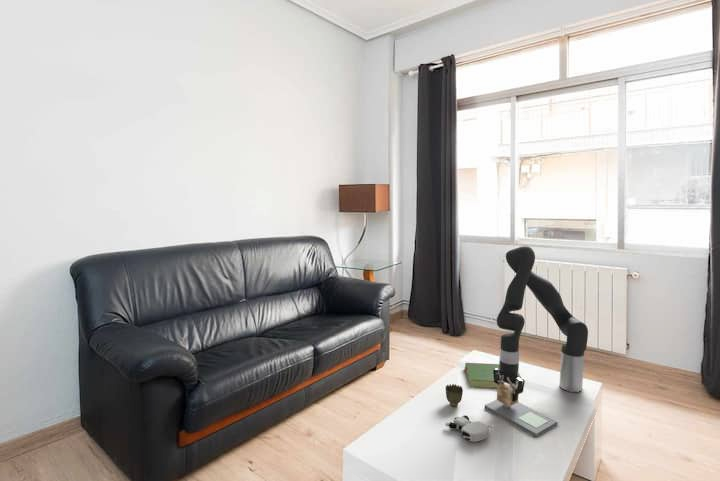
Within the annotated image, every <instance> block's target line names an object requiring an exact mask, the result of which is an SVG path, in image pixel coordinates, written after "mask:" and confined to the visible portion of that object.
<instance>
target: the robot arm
mask: <svg viewBox="0 0 720 481" xmlns="http://www.w3.org/2000/svg"><path fill="white" fill-rule="evenodd" d="M505 260H506V262H507V265H508V266H509V267H510V269H511V270H512V271H513V272H514V273H515V275H514V277H513V278H512V280H511V281H510V284H509V285H508V287H507V290H506V293H505V297H504V298H505V300H504V303H503V305H502V307H501V310H500V311H499V313H498V315H497V317H496V325H497V327H498V328H499V329H502V330H507V331H508V330H509V331H513V332H512V333H504V334H502V335H501V336H500V350H499V363H498V364H499V368H496V369H494V370H493V374H494V382H495V383H497V384H498V385H501V384H503V383H508V384H509V385H510V388H512V391H513V393H512V401H513V402H515V401H517V400H518V401H519V395H520V394H522V393H524V388H525V383H526V380H525V379H523V378H522V380H521V379H520V378H518V373H519V369H520V368H519V367H520V366H519V365H520V353H519V352H520V348H519V347H520V338H521V334H522V332H523V329H524V326H525V322H526V321H525V318H524V316H523V315H522V314H520V313H515V311H520V310H522V308H523V306H524V305H523V304H524V299H525V292H526V288H528V289H529V290H530V291H531V293H532V294H533V295H534V297H535V298H536V300H537V301H538V302H539V303H540V304H541V306H542V307H543V308H544V309H545V311H547V312H548V313H549V315H550V316H551V317H552V319H553V320H554V322H555V323H556V325H557V327H558V329H559V331H560V332H561V333H562V334H563V335H564V336H566V343H563V344H562V346H561V350H560V351H561V353H560V370H559V387H561V388H562V389H561V388H560V389H561V390H563V389H564V390H563V391H565V390H567V391H566V392H568V391H571V392H570V393H572V392H578V393H580V392H579V391H581V390H582V391H583V383H584V382H583V380H584V360H585V352H586V350H587V347H588V346H587V345H588V337H589V329H588V326H587V325H586V324H585V323H584V322H582V321H581V320H579V319H577V318H576V317H575V316H573V314H571V313H570V311H569V310H568V309H567V308H566V306H565V304H564V302H563V299H562V298H563V297H562V296H561V294H560V292H559V291H558V290H557V288H556V287H555V286H554V285H553V283H552V282H551V281H550V280H548V279H546V278H545V277H543V276H541V275H539V274H537V273H535V272H534V271H532V270H533V267H534V266H535V265H534V264H535V261H536V254H535V252H534V250H533V248H532V247H530V246H528V245H523V246H519V247H516V248H513V249H510V250H508V251H507V252H506V253H505ZM499 369H500V370H499ZM499 374H500V375H499ZM500 376H501V378H500ZM517 381H518V383H517ZM513 384H514V385H513ZM582 391H581V392H582Z"/></svg>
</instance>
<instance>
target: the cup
mask: <svg viewBox="0 0 720 481" xmlns="http://www.w3.org/2000/svg"><path fill="white" fill-rule="evenodd" d="M463 392H464V389H463V387H462V385H460V386H459V384H457V385H456V383H455V384H454V383H452V384H450V383H449V384H447V385H445V397H446V400H447V401H448V403H449V405H450V406H451V407H453V408H457V407H458V405H459V403H461V402H462V399H463V394H464V393H463Z"/></svg>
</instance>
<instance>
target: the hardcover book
mask: <svg viewBox="0 0 720 481" xmlns="http://www.w3.org/2000/svg"><path fill="white" fill-rule="evenodd" d="M496 368H499V363H481V362H479V363H478V362H465V365H464V369H465V371H466V373H467V377H468V380H469V384H470V386H471V387H481V388H482V387H483V388H485V387H486V388H497V386H498V384H497V383H495V382H494V374H493V370H494V369H496ZM499 370H500V369H499ZM499 375H500V374H499ZM500 378H501V376H500ZM518 378H520V379H521V380H522V379H523V378H522V377H521V374H520V373H519V372H518ZM517 383H518V381H517ZM513 385H514V384H513Z"/></svg>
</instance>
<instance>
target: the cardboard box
mask: <svg viewBox="0 0 720 481" xmlns="http://www.w3.org/2000/svg"><path fill="white" fill-rule="evenodd" d="M496 389H497V392H496V400H498V401H499V402H501V403H503V404H505V405H507V406H511V405H513V404H515V403H518V402H519V399H518V400H517V401H515V402H513V401H512V393H513V391H512V388H510V385H509V384H508V383H503V384H501V385H498V386H497V387H496Z"/></svg>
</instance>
